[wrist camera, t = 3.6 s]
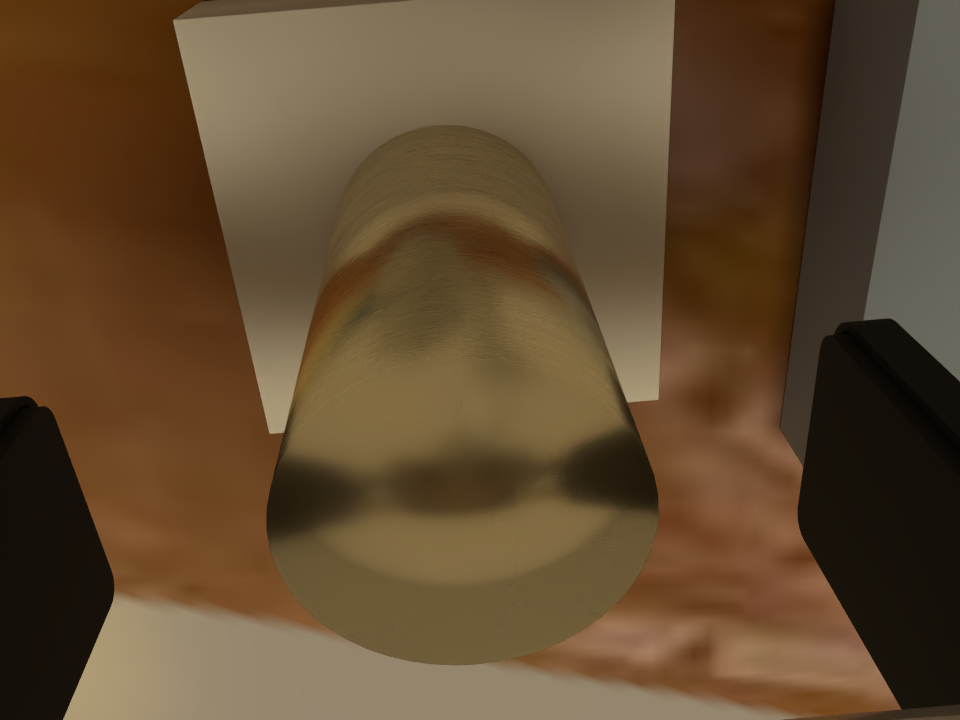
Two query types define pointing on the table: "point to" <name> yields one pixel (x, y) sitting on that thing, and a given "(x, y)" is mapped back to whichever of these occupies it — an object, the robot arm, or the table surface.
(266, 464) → the table surface
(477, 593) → the brass peg
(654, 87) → the beige square plate
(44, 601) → the robot arm
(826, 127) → the hole plate
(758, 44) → the table surface
